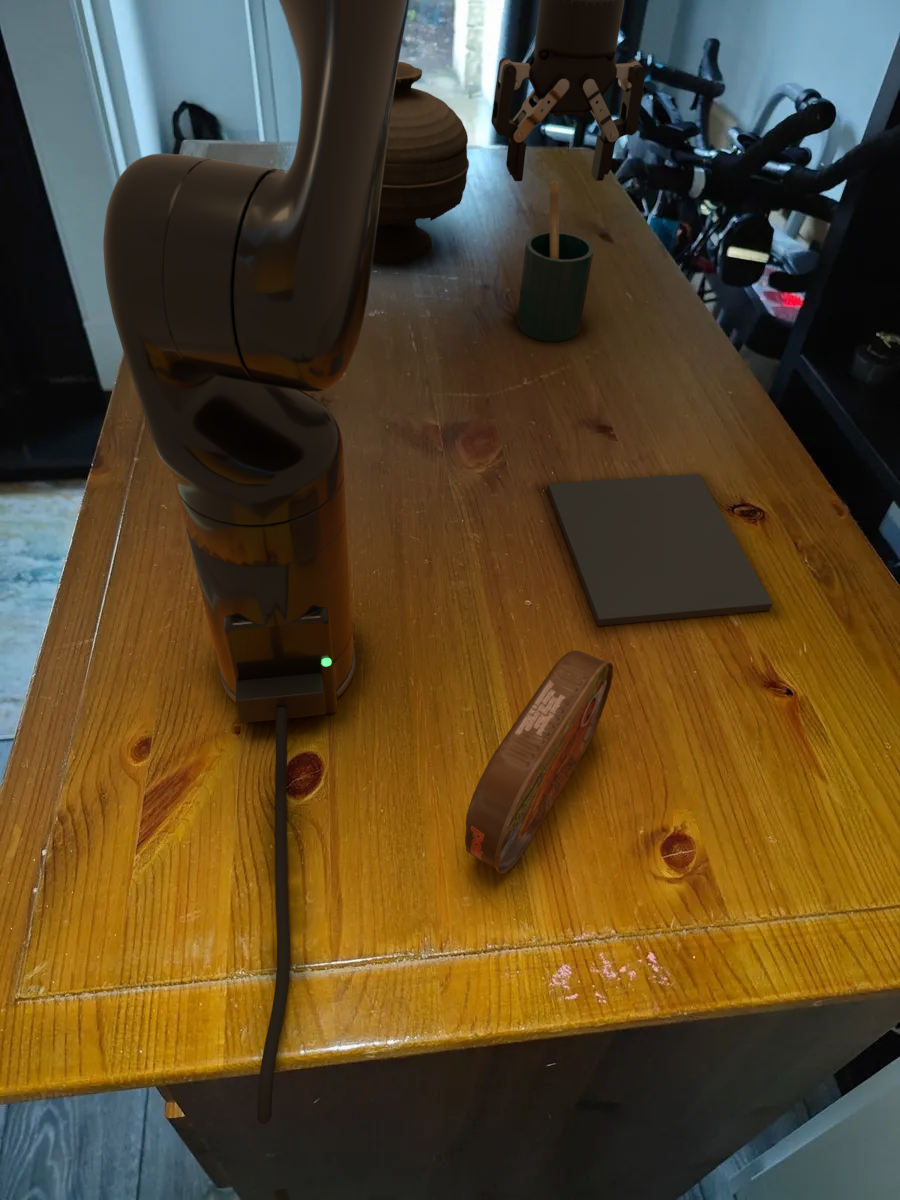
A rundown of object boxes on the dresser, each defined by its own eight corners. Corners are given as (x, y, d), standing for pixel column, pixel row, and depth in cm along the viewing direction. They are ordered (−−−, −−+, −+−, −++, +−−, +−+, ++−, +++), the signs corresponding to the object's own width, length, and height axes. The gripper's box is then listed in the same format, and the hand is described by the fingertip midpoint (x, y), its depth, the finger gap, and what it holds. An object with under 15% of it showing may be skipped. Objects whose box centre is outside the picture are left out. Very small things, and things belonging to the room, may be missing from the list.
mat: (769, 610, 66) (773, 603, 65) (597, 626, 64) (599, 619, 63) (696, 480, 76) (699, 473, 76) (546, 490, 74) (548, 483, 74)
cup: (586, 340, 92) (601, 260, 86) (524, 343, 91) (534, 262, 85) (570, 309, 97) (583, 230, 90) (510, 311, 96) (519, 231, 89)
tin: (496, 899, 49) (510, 828, 43) (449, 870, 50) (457, 797, 44) (605, 720, 58) (630, 640, 52) (564, 699, 59) (584, 618, 53)
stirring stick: (559, 333, 92) (578, 210, 82) (550, 333, 92) (568, 210, 82) (542, 298, 97) (558, 178, 88) (533, 298, 97) (548, 179, 88)
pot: (495, 232, 108) (499, 55, 93) (417, 297, 99) (407, 112, 83) (381, 199, 114) (367, 28, 99) (298, 257, 105) (268, 79, 89)
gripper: (514, -5, 71) (496, 194, 83) (674, -1, 73) (634, 192, 85) (496, -26, 76) (482, 165, 88) (646, -22, 78) (613, 163, 90)
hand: (557, 178), depth 86 cm, fingers open, 8 cm apart
